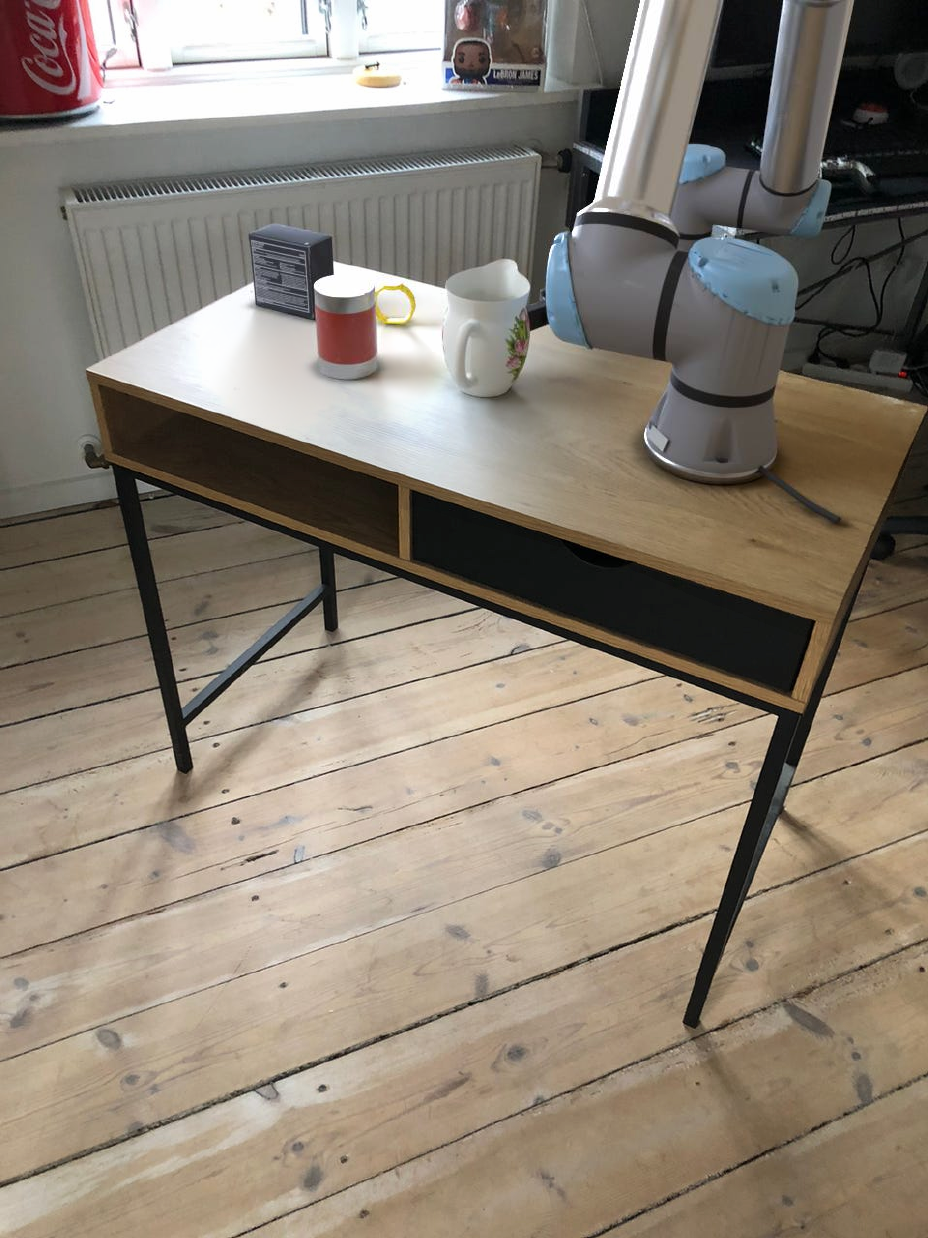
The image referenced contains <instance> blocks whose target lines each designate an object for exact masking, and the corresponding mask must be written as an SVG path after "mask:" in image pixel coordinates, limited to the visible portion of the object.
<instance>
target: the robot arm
mask: <svg viewBox="0 0 928 1238" xmlns="http://www.w3.org/2000/svg"><path fill="white" fill-rule="evenodd" d="M854 2H855V0H783V1H782V9H781V17H780V23H779V31H778V37H777V44H776V52H775V58H774V65H773V72H772V78H771V86H770V94H769V99H768V100H769V101H768V107H767V115H766V122H765V129H764V136H763V142H762V150H761V157H760V163H759V170H753V169H746V168H740V167H739V168H737V167H733V166H732V167H731V166H726V154H725V152H724V151H723V150H722V148H719V147H716V146H710V145H709V144H702V143H701V144H700V143H690V138H691V134H692V131H693V127H694V122H695V118H696V114H697V110H698V106H699V102H700V97H701V94H702V90H703V85H704V81H705V77H706V74H707V69H708V65H709V62H710V57H711V53H712V49H713V45H714V40H715V36H716V32H717V28H718V25H719V21H720V15H721V12H722V8H723V3H724V0H640V3H639V8H638V12H637V15H636V16H637V17H636V21H635V25H634V30H633V35H632V38H631V42H630V46H629V51H628V55H627V58H626V63H625V68H624V71H623V76H622V80H621V84H620V85H621V86H620V90H619V93H618V98H617V102H616V106H615V111H614V115H613V119H612V123H611V127H610V132H609V135H608V136H609V137H608V141H607V145H606V149H605V154H604V157H603V162H602V165H601V170H600V175H599V180H598V183H597V188H596V192H595V197H594V200H593V202H592V203H590V204H589V205H587V206H586V207H584V208H583V209H581V210H580V211H579V212H577V213H576V217H575V220H574V221H575V222H574V226H573V229H572V232H571V231H568V230H567V231H563V232H559V233H558V234H557V235H556V236H555V238H554V239H553V244H552V245H551V248H550V250H549V256H548V261H547V269H546V277H545V279H546V281H545V287H543V288H541V289H540V291H539V301H536V302H534V303H531V304H529V305H526V310H527V314H528V318H529V324H530V332H532V331H535V330H537V329H540V328H543V327H546V326H548V325H549V327H550V330H551V332H552V333H553V335H554V336H555V337H556V338H557V339H558V340H561V341H562V342H564V343H569V344H572V345H577V346H580V347H585V348H586V349H587V350H591V351H592V350H593V349H597V350H602V351H607V352H613V353H616V354H617V353H618V354H623V355H628V356H632V357H633V356H635V357H639V358H644V359H647V360H649V359H650V360H653V361H654V360H655V361H660V362H664V363H665V362H666V363H670V364H671V371H670V375H669V381H668V384H667V386H666V388H665V390H664V392H663V394H662V396H661V398H660V399H659V400H658V403H657V405H656V407H655V409H653V410H654V411H653V412H652V414H651V416H650V417H649V420H648V422H647V425H646V427H645V431H644V436H643V444H642V445H643V450H644V452H645V454H646V455H647V457H648V458H649V459H650V460H651V462H653V463H654V464H655V465H657V466H658V467H659V468H661V469H662V470H664V471H666V472H667V473H670V474H672V475H675V476H676V477H680V478H683V479H685V480H690V481H692V482H693V481H694V482H699V483H703V484H713V485H714V484H715V485H735V484H742V483H743V484H744V483H748V482H751V481H754V480H757V479H760V478H762V477H765V478H766V479H768V480H769V481H770V482H772V483H774V485H776V486H778V487H779V488H781V489H782V490H783V491H785V492H786V493H788V495H790V496H791V497H792V498H794V499H795V500H797V501H798V503H799V502H800V504H803V506H805V507H807V508H808V509H810V510H811V511H813V512H815V513H816V514H819V515H820V516H822V517H824V518H825V519H827V520H829V521H831V522H833V523H834V524H837V525H838V524H839V523H840V522H841V520H842V518H841V517H840V516H839V515H836V513H833V512H831V511H829V510H828V509H825V508H824V507H822V506H820V505H818V504H817V503H815V502H813V501H812V500H810V499H809V498H807V497H806V496H804V495H803V494H802V493H800V492H799V491H797V489H795V488H794V487H792V486H791V485H790V484H789V483H787V482H786V481H784V480H782V479H781V478H780V477H778V476H777V475H776V474H774V473H773V472H772V471H771V470H772V468H773V467H774V465H775V461H776V458H777V454H778V435H777V424H776V415H775V407H774V406H775V405H774V396H775V391H776V387H777V383H778V379H779V378H778V377H779V374H780V369H781V366H782V361H783V357H784V352H785V348H786V343H787V339H788V336H789V331H790V326H791V324H792V322H794V319H795V316H796V309H795V307H796V306H795V305H796V302H797V301H796V300H797V296H798V291H799V277H798V274H797V271H796V269H795V268H794V265H792V264H791V263H790V261H788V260H787V259H786V258H784V257H783V256H782V255H781V254H779V253H777V252H775V251H774V250H772V249H770V248H768V247H766V246H763V245H760V244H758V243H756V242H755V243H754V242H751V241H749V240H748V241H747V240H744V239H740V238H734V237H728V236H722V237H721V238H719V237H715V236H714V234H713V228H714V226H720V227H725V228H733V229H740V230H746V231H747V230H748V231H753V232H760V233H766V234H771V235H772V234H773V235H778V236H783V237H784V238H785V237H786V238H788V237H789V238H791V237H792V238H802V239H803V238H804V239H813V238H815V237H817V236H818V235H819V234H820V232H821V230H822V227H823V224H824V221H825V217H826V213H827V209H828V206H829V202H830V197H831V193H832V183H831V182H830V181H829V180H826V179H822V178H821V177H819V173H820V167H821V165H822V159H823V153H824V150H825V149H824V148H825V144H826V139H827V135H828V131H829V130H828V129H829V125H830V124H829V123H830V119H831V115H832V109H833V105H834V100H835V95H836V90H837V85H838V80H839V75H840V71H841V66H842V60H843V56H844V51H845V47H846V42H847V36H848V32H849V27H850V22H851V18H852V17H851V16H852V14H853V13H852V12H853V7H854Z"/></svg>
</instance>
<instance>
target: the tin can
mask: <svg viewBox="0 0 928 1238" xmlns="http://www.w3.org/2000/svg"><path fill="white" fill-rule="evenodd" d="M314 293H315V316H316V318H315V328H316V329H315V330H316V331H315V332H316V345H317V354H318V364H319V365H318V366H319V367H318V368H319V371H320V372H321V374H323V375H325V376H327V377H329V378H332V379H336V380H343V381H344V380H345V381H350V380H352V381H353V380H359V379H363V378H367V377H370V376H371V375H373V374H374V373H375V372H376V371H377V368H378V333H377V332H378V331H377V330H378V329H377V316H376V301H375V293H376V285H375V283H374V281H373V280H371V279H370V278H367V277H365V276H361V275H356V274H334V275H333V276H328V277H325V278H322V279H320V280H318V281H317V282H316V283H315V285H314Z"/></svg>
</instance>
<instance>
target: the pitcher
mask: <svg viewBox="0 0 928 1238" xmlns="http://www.w3.org/2000/svg"><path fill="white" fill-rule="evenodd" d="M444 287H445V292H446V298H447V308H446V310H445V312H444V316H443V319H442V327H441V346H442V351H443V356H444V360H445V364H446V367H447V369H448V372H449V374H450V376H451V378H452V380H453V381H454V383H455V384H456V385H457V386H458V388H459V390H460V391H462V392H463V393H465V394H467V395H470V396H473V397H479V398H493V397H498V396H501V395H504V394H505V393H506V392H508V391H509V389H510V388H511V387H512V386H513V385H514V383H515V382H516V381H517V379H518V378H519V376H520V374H521V372H522V370H523V368H524V364H525V361H526V358H527V355H528V351H529V346H530V337H531V331H530V324H529V318H528V314H527V310H526V306H527V304H528V299H529V296H530V292H531V284H530V281H529V280H528V279H527V277H526V276H524V275H523V274H522V273H521V272H520V271H519V265H518V264H517V262H516V261H515V260H514V259H510V258H500V259H497V260H494V261H491V262H489V263H486V264H484V265H481V266H477V267H472V268H469V269H465V270H461V271H459V272H457V273H455V274H453V275H451V276H449V278H448V279H447V280H446V281H445V286H444Z"/></svg>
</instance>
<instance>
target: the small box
mask: <svg viewBox="0 0 928 1238" xmlns="http://www.w3.org/2000/svg"><path fill="white" fill-rule="evenodd" d="M247 234H248V241H249V249H250V259H251V270H252V271H251V272H252V280H253V290H254V291H253V292H254V304H255V306H257V307H260V308H261V307H262V308H265V309H270V310H273V311H278V312H282V313H286V314H291V315H294V316H299V317H303V318H306V319H310V320H313V319H316V316H315V293H314V285H315V283H316V282H317V281H318V280H320V279H322V278H325V277H328V276H333V275H335V268H334V250H333V249H334V248H333V235H332V234H328V233H322V232H318V231H313V230H308V229H303V228H298V227H293V226H288V225H283V224H280V223H279V224H278V223H270V224H268V225H266V226H263V227H261V228H259V229H256V230H254V231H251V232H249V233H247Z"/></svg>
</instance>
